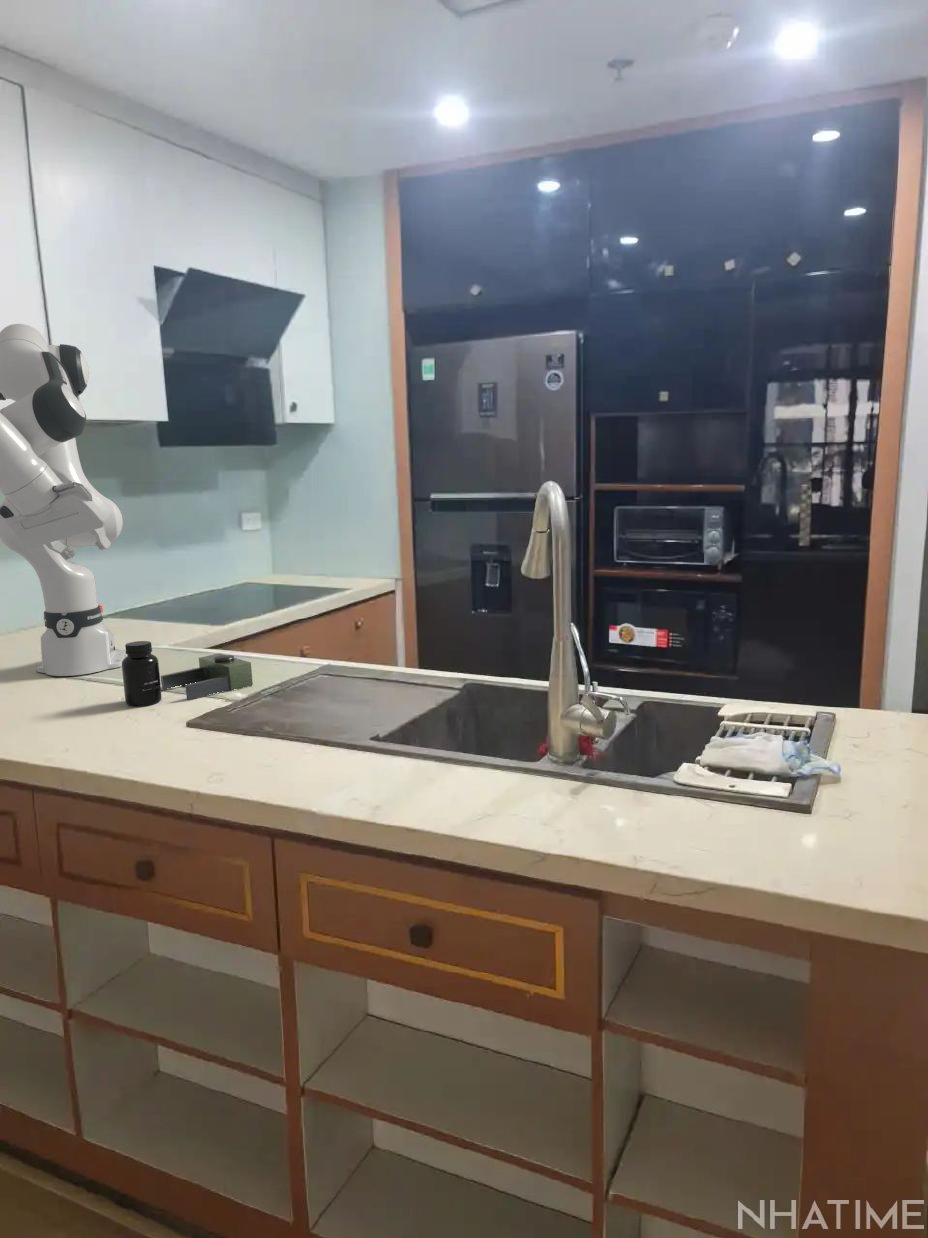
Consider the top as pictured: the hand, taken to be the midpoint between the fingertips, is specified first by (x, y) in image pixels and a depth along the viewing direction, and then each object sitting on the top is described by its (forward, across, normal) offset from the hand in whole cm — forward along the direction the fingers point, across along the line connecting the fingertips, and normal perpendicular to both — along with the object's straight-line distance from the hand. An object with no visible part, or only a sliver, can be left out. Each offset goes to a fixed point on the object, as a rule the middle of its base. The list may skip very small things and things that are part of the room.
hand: (88, 552), depth 161 cm
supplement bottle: (+30, +5, +10) cm, 32 cm away
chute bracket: (+38, 0, -1) cm, 38 cm away
